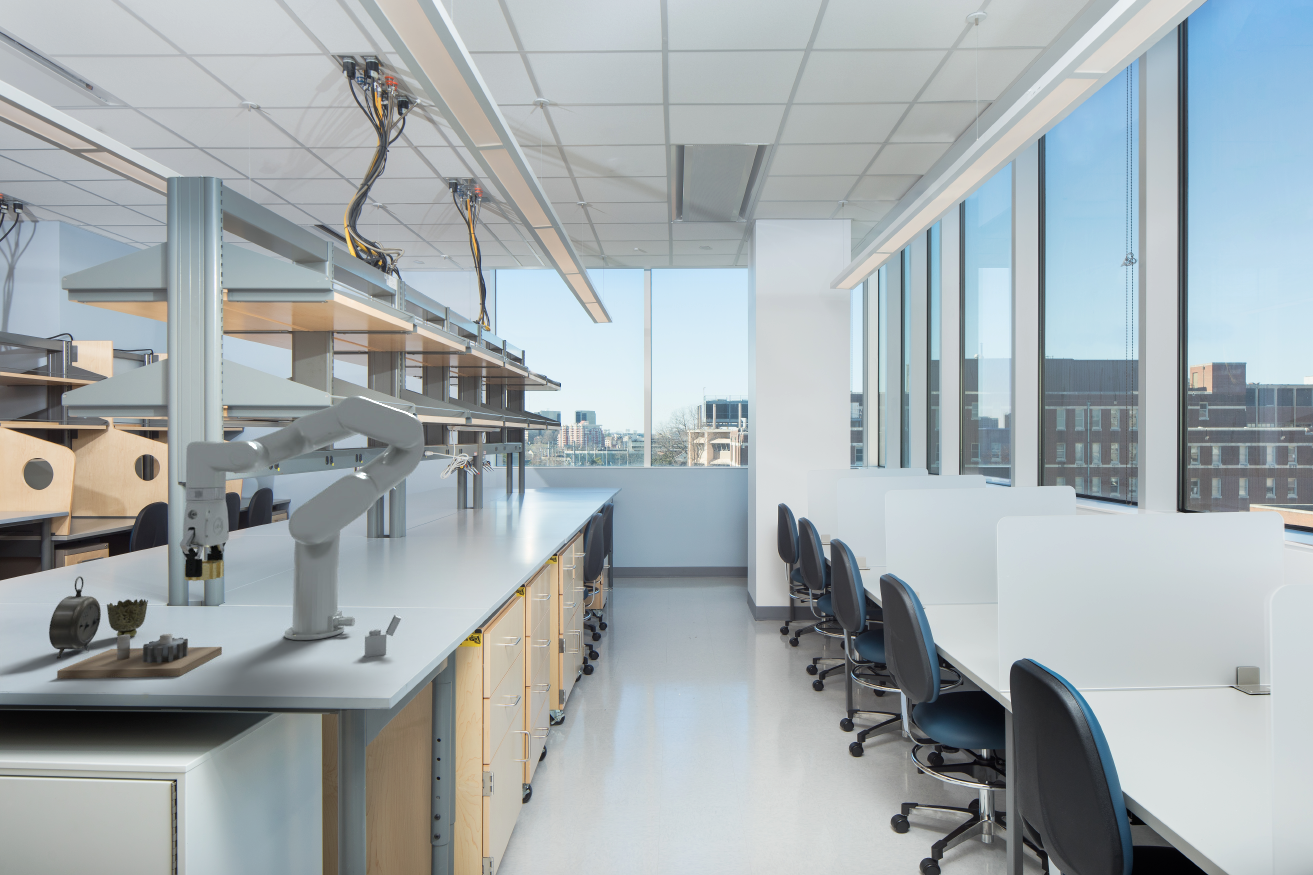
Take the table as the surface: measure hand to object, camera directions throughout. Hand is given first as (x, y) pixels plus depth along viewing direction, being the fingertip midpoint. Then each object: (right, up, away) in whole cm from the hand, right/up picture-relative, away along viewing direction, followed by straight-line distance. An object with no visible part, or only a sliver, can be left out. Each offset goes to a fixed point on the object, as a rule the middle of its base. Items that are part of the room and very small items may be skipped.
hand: (204, 573), depth 149 cm
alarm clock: (-22, -16, -8) cm, 28 cm away
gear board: (-1, -15, -17) cm, 22 cm away
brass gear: (0, -1, 0) cm, 1 cm away
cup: (-21, -16, +4) cm, 26 cm away
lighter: (+44, -16, -8) cm, 47 cm away
